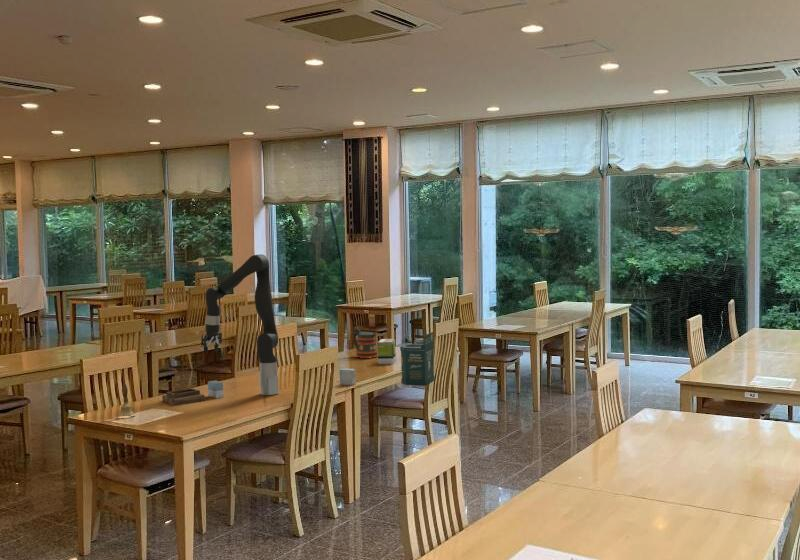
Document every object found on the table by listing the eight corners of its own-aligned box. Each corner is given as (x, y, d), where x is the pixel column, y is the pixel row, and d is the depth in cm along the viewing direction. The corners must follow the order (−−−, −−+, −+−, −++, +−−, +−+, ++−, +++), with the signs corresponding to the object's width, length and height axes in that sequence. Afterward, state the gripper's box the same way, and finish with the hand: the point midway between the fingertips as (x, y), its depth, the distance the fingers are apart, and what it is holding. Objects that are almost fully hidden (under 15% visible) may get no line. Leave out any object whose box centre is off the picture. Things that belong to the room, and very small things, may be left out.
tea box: (381, 360, 534) (380, 338, 533) (396, 360, 533) (395, 338, 532) (377, 364, 519) (377, 341, 518) (393, 364, 518) (392, 341, 517)
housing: (223, 397, 424) (223, 382, 424) (215, 398, 421) (215, 383, 421) (215, 395, 431) (215, 380, 431) (208, 396, 428) (207, 381, 428)
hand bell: (118, 419, 378) (116, 386, 377) (116, 416, 386) (115, 383, 385) (136, 417, 381) (134, 384, 380) (134, 414, 389) (133, 381, 388)
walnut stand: (204, 400, 417) (204, 391, 417) (175, 405, 407) (175, 395, 406) (191, 396, 429) (190, 387, 429) (162, 400, 419) (162, 391, 419)
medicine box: (355, 384, 452) (355, 368, 451) (352, 385, 448) (352, 370, 447) (343, 383, 455) (342, 368, 454) (339, 384, 450) (339, 369, 450)
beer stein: (347, 357, 550) (346, 328, 549) (359, 354, 563) (358, 326, 561) (369, 359, 540) (369, 330, 539) (381, 356, 553) (380, 327, 551)
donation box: (425, 385, 441) (424, 335, 439) (398, 384, 446) (397, 334, 445) (434, 380, 456) (433, 331, 454) (408, 379, 461) (406, 331, 460)
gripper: (209, 325, 430) (207, 355, 431) (226, 323, 442) (224, 351, 444) (198, 323, 433) (196, 352, 435) (216, 321, 446) (214, 349, 447)
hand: (210, 352), depth 439 cm, fingers open, 8 cm apart
